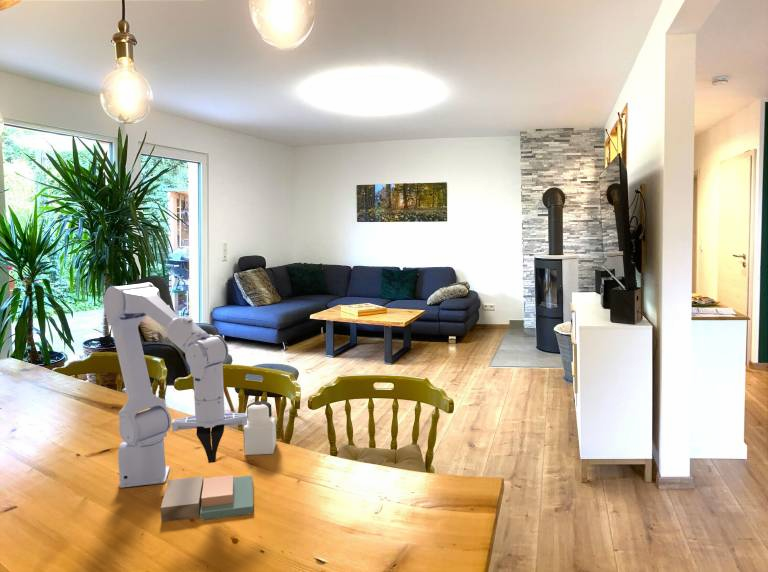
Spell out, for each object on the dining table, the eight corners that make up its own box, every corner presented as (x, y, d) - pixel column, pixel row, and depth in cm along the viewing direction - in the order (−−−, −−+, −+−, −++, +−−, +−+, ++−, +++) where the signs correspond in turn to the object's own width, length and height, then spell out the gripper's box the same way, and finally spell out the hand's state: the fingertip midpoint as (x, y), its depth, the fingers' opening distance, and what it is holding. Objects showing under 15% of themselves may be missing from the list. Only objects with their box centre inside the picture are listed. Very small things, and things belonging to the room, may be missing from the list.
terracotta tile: (201, 506, 113) (201, 498, 113) (204, 486, 122) (204, 478, 121) (233, 502, 114) (232, 494, 114) (233, 482, 123) (233, 474, 123)
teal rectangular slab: (200, 520, 111) (200, 512, 111) (205, 487, 124) (205, 480, 124) (253, 513, 113) (253, 506, 113) (252, 481, 127) (252, 475, 126)
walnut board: (161, 522, 110) (160, 507, 110) (169, 493, 122) (168, 480, 121) (199, 517, 112) (198, 503, 111) (203, 489, 123) (203, 476, 123)
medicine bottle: (248, 444, 148) (246, 399, 146) (276, 443, 148) (274, 398, 147) (244, 455, 141) (242, 408, 139) (273, 454, 141) (271, 407, 140)
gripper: (168, 406, 110) (172, 473, 111) (246, 399, 113) (248, 465, 115) (173, 394, 117) (176, 458, 118) (246, 389, 120) (248, 451, 122)
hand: (212, 460), depth 117 cm, fingers closed
